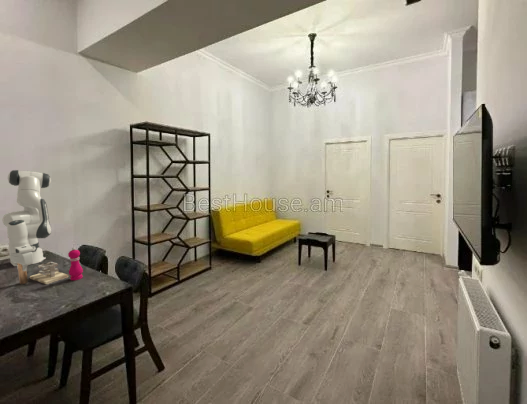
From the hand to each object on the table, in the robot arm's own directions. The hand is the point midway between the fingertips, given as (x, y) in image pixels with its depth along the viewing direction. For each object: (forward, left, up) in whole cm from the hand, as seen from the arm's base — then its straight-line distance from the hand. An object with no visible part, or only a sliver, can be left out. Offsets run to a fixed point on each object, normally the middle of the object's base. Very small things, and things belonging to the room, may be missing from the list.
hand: (22, 270), depth 159 cm
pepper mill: (+22, +18, -8) cm, 30 cm away
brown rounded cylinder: (0, 0, -8) cm, 8 cm away
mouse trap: (+5, +11, -8) cm, 15 cm away
